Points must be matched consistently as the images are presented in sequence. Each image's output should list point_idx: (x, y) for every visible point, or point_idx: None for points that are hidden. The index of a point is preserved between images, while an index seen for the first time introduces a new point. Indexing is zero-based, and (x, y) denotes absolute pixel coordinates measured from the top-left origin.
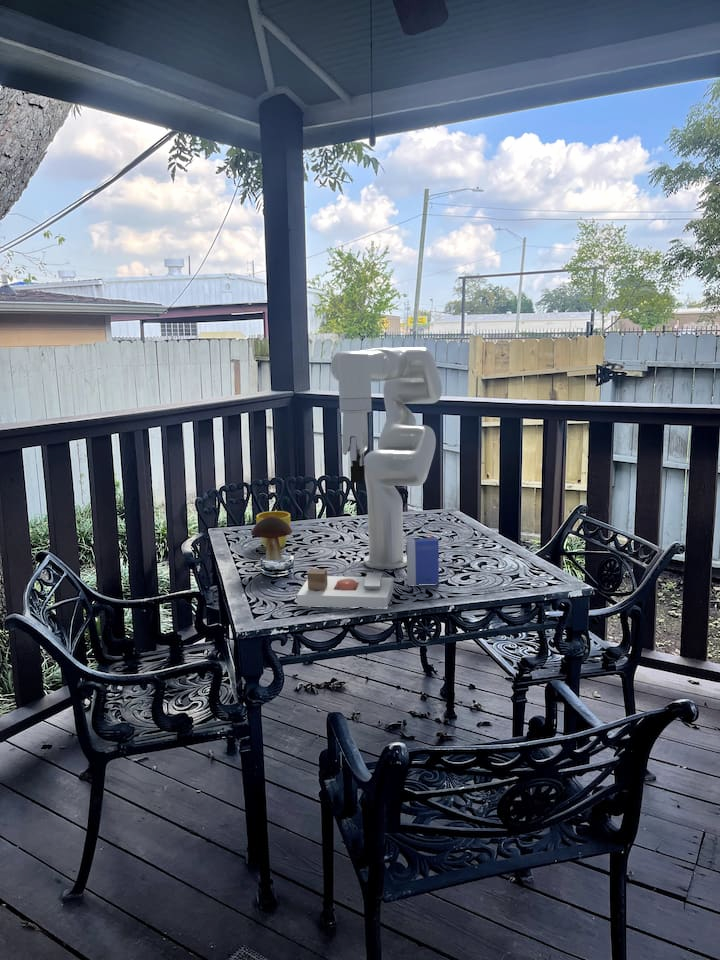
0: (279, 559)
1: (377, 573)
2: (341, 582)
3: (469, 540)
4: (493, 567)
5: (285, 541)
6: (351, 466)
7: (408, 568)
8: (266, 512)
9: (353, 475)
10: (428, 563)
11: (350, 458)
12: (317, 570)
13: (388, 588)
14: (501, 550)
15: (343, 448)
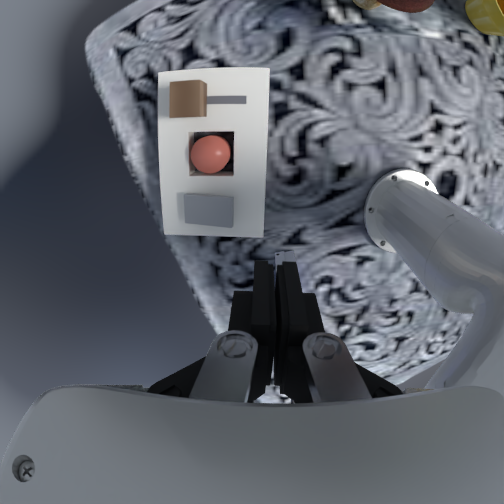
0: (364, 2)
1: (227, 219)
2: (206, 145)
3: (460, 325)
4: None
5: (486, 32)
6: (228, 334)
7: (276, 270)
8: None
9: (233, 301)
10: None
11: (193, 388)
12: (189, 97)
13: (205, 233)
14: (412, 361)
15: (16, 432)
